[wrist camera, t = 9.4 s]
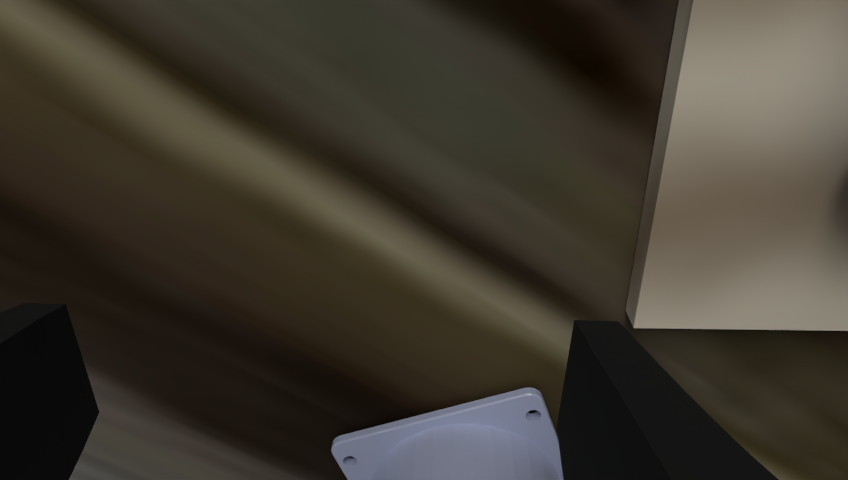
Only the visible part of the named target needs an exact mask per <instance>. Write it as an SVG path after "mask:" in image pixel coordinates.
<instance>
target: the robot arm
mask: <svg viewBox="0 0 848 480" xmlns="http://www.w3.org/2000/svg"><path fill="white" fill-rule="evenodd" d="M531 410H537V412H535V413H528V412H529V411H531ZM98 414H99V410H98V407H97V404H96V400H95V397H94V394H93V391H92V388H91V384H90V381H89V378H88V375H87V371H86V368H85V365H84V362H83V359H82V355H81V352H80V349H79V346H78V343H77V339H76V336H75V333H74V330H73V327H72V323H71V320H70V317H69V314H68V310H67V307H66V304H34V303H23V304H20V305H18V306H16V307H13V308H11V309H8V310H6V311H4V312H2V313H0V480H69V478H70V476H71V474H72V472H73V470H74V467H75V465H76V463H77V461H78V459H79V457H80V455H81V453H82V451H83V448H84V446H85V444H86V442H87V439H88V437H89V435H90V432H91V430H92V428H93V425H94V423H95V421H96V418H97V416H98ZM557 433H558V437H557V434H556V431H555V429H554V426H553V423H552V420H551V418H550V415H549V412H548V409H547V407H546V404H545V401H544V399H543V396H542V394H541V392H540V391H539V390H537V389H535V388H530V387H529V388H522V389H518V390H515V391H511V392H507V393H503V394H499V395H495V396H491V397H487V398H484V399H480V400H476V401H472V402H468V403H464V404H460V405H456V406H453V407H449V408H445V409H441V410H437V411H433V412H429V413H426V414H422V415H418V416H414V417H410V418H406V419H402V420H398V421H395V422H391V423H387V424H383V425H379V426H375V427H371V428H367V429H364V430H360V431H356V432H352V433H348V434H344V435H340V436H338V437H336V438H335V439H334V440H333V444H332V449H331V451H332V454H333V456H334V458H335V459H336V461H337V463H338V464H339V466H340V468H341V469H342V471H343V473H344V474H345V476H346V478H347V480H778V479H777V478H776V477H775V476H774V475H773V474H771V473H770V472H769V471H768V470H767V469H766V468H765V467H764V466H762V465H761V464H760V463H759V462H758V461H757V460H756V459H755V458H753V457H752V456H751V455H750V454H749V453H748V452H747V451H746V450H745V449H744V448H743V447H742V446H741V445H740V444H738V443H737V442H736V441H735V440H734V439H733V438H732V437H731V436H730V435H729V434H728V433H727V432H726V431H725V430H724V429H723V428H722V427H721V426H720V425H718V424H717V423H716V422H715V421H714V420H713V419H712V418H711V417H710V416H709V415H708V414H707V413H706V412H705V411H704V410H703V409H702V408H701V407H700V406H699V405H698V404H697V403H696V402H695V401H694V400H693V399H692V398H691V397H690V396H689V395H688V394H687V393H686V392H685V391H684V390H683V389H682V388H681V387H680V386H679V385H678V384H677V382H676V381H675V380H674V379H673V378H672V377H671V376H670V375H669V374H668V373H667V372H666V371H665V370H664V369H663V368H662V367H661V366H660V365H659V364H658V363H657V362H656V361H655V360H654V358H653V357H652V356H651V355H650V354H649V353H648V352H647V351H646V350H645V349H644V348H643V347H642V346H641V345H640V344H639V343H638V342H637V340H636V339H635V338H634V337H633V336H632V335H631V334H630V333H629V332H628V331H627V330H626V329H625V328H624V327H623V326H622V325H621V324H620V323H619V322H616V321H583V320H574V326H573V332H572V338H571V344H570V350H569V356H568V362H567V368H566V374H565V380H564V386H563V392H562V399H561V405H560V411H559V417H558V423H557ZM347 456H352V457H354V458H349V457H347Z"/></svg>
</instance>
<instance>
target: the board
mask: <svg viewBox="0 0 848 480" xmlns="http://www.w3.org/2000/svg"><path fill="white" fill-rule="evenodd" d="M625 310H626V312H627V315H628V317H629V319H630V321H631V324H632V326H633V328H665V329H744V330H823V331H848V0H679V2H678V8H677V14H676V20H675V25H674V31H673V37H672V43H671V49H670V54H669V60H668V66H667V72H666V78H665V83H664V89H663V95H662V101H661V107H660V112H659V118H658V124H657V130H656V136H655V141H654V147H653V153H652V159H651V165H650V170H649V176H648V182H647V188H646V194H645V199H644V205H643V211H642V217H641V222H640V228H639V234H638V240H637V246H636V251H635V257H634V263H633V269H632V275H631V280H630V286H629V292H628V298H627V304H626V309H625Z"/></svg>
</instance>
